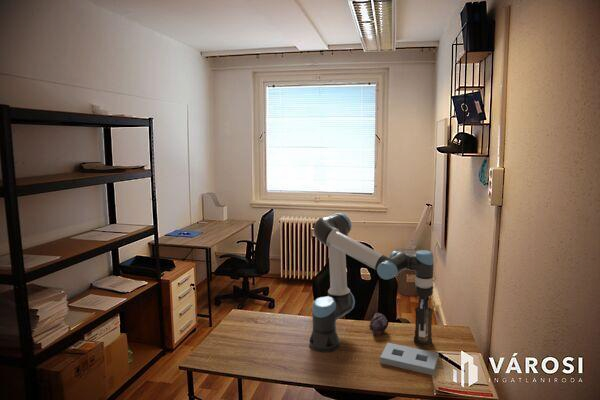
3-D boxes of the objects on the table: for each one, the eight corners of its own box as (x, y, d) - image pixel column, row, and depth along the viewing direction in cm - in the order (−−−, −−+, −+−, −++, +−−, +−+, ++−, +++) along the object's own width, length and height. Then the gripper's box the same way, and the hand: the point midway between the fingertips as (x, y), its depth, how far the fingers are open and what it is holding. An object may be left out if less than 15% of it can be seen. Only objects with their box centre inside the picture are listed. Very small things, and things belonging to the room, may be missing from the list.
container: (433, 348, 203) (434, 314, 200) (414, 346, 205) (415, 312, 202) (431, 339, 212) (432, 306, 209) (413, 337, 214) (414, 305, 211)
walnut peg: (417, 340, 187) (418, 311, 185) (419, 336, 191) (419, 307, 188) (426, 342, 186) (427, 313, 183) (428, 338, 189) (429, 309, 187)
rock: (370, 337, 217) (389, 337, 216) (370, 324, 214) (389, 324, 213) (368, 324, 228) (387, 324, 227) (368, 310, 225) (387, 310, 224)
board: (380, 362, 192) (380, 357, 192) (387, 348, 204) (387, 342, 204) (433, 375, 182) (434, 369, 181) (438, 359, 194) (438, 353, 194)
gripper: (429, 293, 174) (428, 344, 179) (435, 279, 190) (434, 327, 194) (411, 291, 178) (411, 341, 182) (418, 277, 193) (418, 324, 197)
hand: (423, 334), depth 188 cm, fingers closed on walnut peg, 4 cm apart
